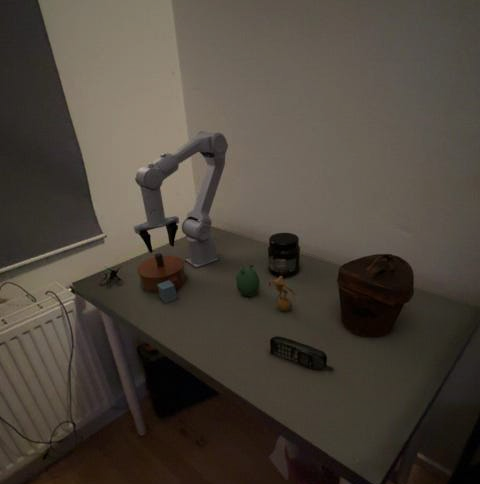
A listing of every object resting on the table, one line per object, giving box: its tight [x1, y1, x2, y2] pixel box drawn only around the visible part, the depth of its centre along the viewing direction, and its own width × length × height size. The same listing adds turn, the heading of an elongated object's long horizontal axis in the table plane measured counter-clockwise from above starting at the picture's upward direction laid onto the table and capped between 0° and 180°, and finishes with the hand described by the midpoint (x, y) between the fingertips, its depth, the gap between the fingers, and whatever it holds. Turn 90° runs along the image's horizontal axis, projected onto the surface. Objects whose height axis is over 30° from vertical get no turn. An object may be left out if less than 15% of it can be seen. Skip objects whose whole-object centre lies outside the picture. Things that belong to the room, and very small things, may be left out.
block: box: [157, 280, 178, 304], centre depth 107 cm, size 4×4×5 cm
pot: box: [138, 267, 186, 294], centre depth 116 cm, size 14×20×6 cm
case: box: [336, 253, 415, 338], centre depth 87 cm, size 18×20×18 cm
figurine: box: [268, 276, 296, 312], centre depth 95 cm, size 8×6×12 cm
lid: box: [136, 252, 185, 279], centre depth 114 cm, size 15×15×5 cm
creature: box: [99, 266, 124, 287], centre depth 118 cm, size 8×5×8 cm
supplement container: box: [267, 232, 301, 278], centre depth 115 cm, size 10×10×12 cm
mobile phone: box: [269, 335, 334, 371], centre depth 80 cm, size 5×3×15 cm
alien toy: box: [235, 263, 261, 297], centre depth 105 cm, size 7×8×10 cm
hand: (161, 248), depth 115 cm, fingers open, 7 cm apart
